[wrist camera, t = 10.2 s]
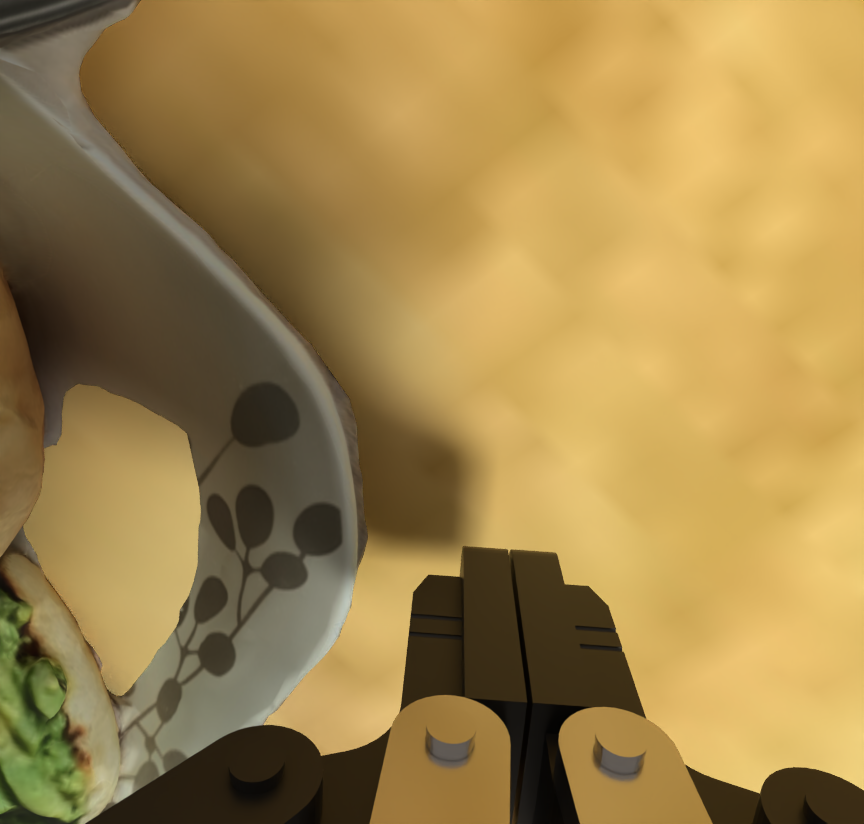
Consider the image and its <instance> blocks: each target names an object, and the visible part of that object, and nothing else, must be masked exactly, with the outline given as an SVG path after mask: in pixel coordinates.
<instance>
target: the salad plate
mask: <svg viewBox="0 0 864 824" xmlns="http://www.w3.org/2000/svg"><path fill="white" fill-rule="evenodd" d="M139 2H140V0H0V824H85V823H87V822H88V821H90V820H91V819H93V818H94V817H96V816H98V815H99V814H101V813H102V812H104V811H106V810H107V809H109V808H110V807H112V806H113V805H115V804H117V803H118V802H120V801H121V800H123V799H125V798H126V797H128V796H129V795H131V794H132V793H134V792H136V791H137V790H139V789H140V788H142V787H144V786H145V785H147V784H148V783H150V782H151V781H153V780H155V779H156V778H158V777H159V776H161V775H163V774H164V773H166V772H167V771H169V770H170V769H172V768H174V767H175V766H177V765H178V764H180V763H182V762H183V761H185V760H186V759H188V758H189V757H191V756H193V755H194V754H196V753H197V752H199V751H201V750H202V749H204V748H205V747H207V746H208V745H210V744H212V743H213V742H215V741H216V740H218V739H220V738H221V737H223V736H225V735H227V734H229V733H231V732H234V731H237V730H239V729H243V728H247V727H252V726H259V725H263V724H264V723H265V721H266V719H267V718H268V716H269V715H271V714H272V713H274V712H275V711H276V710H278V708H279V707H280V706H281V705H282V703H283V702H284V701H285V700H286V698H287V697H288V696H289V695H290V693H291V692H292V691H293V690H294V688H295V687H296V686H297V685H298V684H299V682H300V681H301V680H302V679H303V677H304V676H305V675H306V674H307V673H308V672H309V671H310V670H311V669H312V668H313V667H314V666H315V665H316V664H317V663H318V662H319V661H320V660H321V659H322V658H323V657H324V656H325V655H326V654H327V652H328V651H329V650H330V648H331V647H332V646H333V644H334V643H335V641H336V640H337V639H338V637H339V636H340V633H341V629H342V626H343V624H344V622H345V620H346V617H347V614H348V612H349V610H350V608H351V603H352V595H353V587H354V583H355V578H356V574H357V570H358V567H359V565H360V562H361V560H362V558H363V555H364V551H365V547H366V543H367V538H368V534H367V526H366V522H365V516H364V502H363V479H362V473H361V470H360V466H359V453H358V440H357V425H356V420H355V416H354V414H353V410H352V407H351V403H350V399H349V397H348V396H347V394H346V393H345V392H344V390H343V389H342V387H341V386H340V385H339V383H338V382H337V380H336V379H335V378H334V376H333V375H332V373H331V372H330V371H329V369H328V368H327V366H326V365H325V364H324V362H323V361H322V359H321V358H320V357H319V355H318V354H317V352H316V351H315V350H314V348H313V346H312V345H311V344H310V343H309V342H308V341H307V340H306V339H305V338H304V337H303V336H302V335H301V334H300V333H299V332H298V331H297V330H296V329H295V328H294V327H293V326H292V325H291V324H290V323H289V322H288V320H287V319H286V318H285V317H284V316H283V315H282V314H281V313H280V312H279V311H278V309H277V308H276V307H275V306H274V305H273V304H272V303H271V302H270V301H269V300H268V299H267V298H266V297H265V295H264V294H263V293H262V292H261V291H260V290H259V289H258V288H257V287H256V285H255V284H254V283H253V282H252V281H251V280H250V279H249V277H248V276H247V275H246V274H245V273H244V272H243V271H242V270H241V268H240V267H239V266H238V265H237V264H236V263H235V262H234V260H232V259H231V258H230V257H229V256H228V255H227V254H226V253H225V252H224V251H223V250H222V249H220V248H219V246H218V245H217V244H216V243H215V241H214V240H213V239H212V238H211V236H210V235H209V234H208V233H207V232H206V231H205V230H203V229H202V228H201V227H200V226H199V225H198V224H197V223H195V222H194V221H193V220H192V219H191V218H190V217H189V216H188V215H187V214H185V213H184V212H183V211H182V210H181V209H180V208H178V207H177V206H176V205H175V204H174V203H172V202H171V201H170V200H169V199H168V198H167V197H166V196H165V195H164V194H163V193H161V192H160V191H159V190H158V189H157V188H156V187H154V186H153V185H152V184H151V183H150V182H149V181H148V180H147V178H146V177H145V176H144V175H143V174H142V173H141V172H140V171H139V169H138V168H137V167H136V166H135V165H134V163H133V162H132V161H131V160H130V158H129V157H128V156H127V154H126V153H125V152H124V151H123V149H122V148H121V147H120V146H119V145H118V143H117V142H116V141H115V140H114V139H113V138H112V136H111V135H110V134H109V133H108V132H107V131H106V129H105V128H104V127H103V126H102V125H101V124H100V122H99V121H98V120H97V119H96V118H95V116H94V114H93V113H92V111H91V109H90V107H89V105H88V103H87V101H86V99H85V97H84V95H83V93H82V91H81V85H80V78H79V72H80V67H81V64H82V61H83V58H84V56H85V54H86V53H87V52H88V50H89V49H90V48H91V47H92V46H93V44H94V43H95V42H96V41H97V39H98V38H99V36H100V35H101V33H102V32H103V31H104V29H106V28H107V27H109V26H111V25H113V24H115V23H116V22H118V21H121V20H123V19H125V18H127V17H128V16H129V15H130V14H131V13H132V12H133V11H134V9H135V8H136V6H137V5H138V3H139ZM77 384H83V385H91V386H98V387H101V388H103V389H105V390H107V391H108V392H110V393H113V394H116V395H119V396H123V397H125V398H128V399H130V400H132V401H135V402H137V403H139V404H141V405H143V406H144V407H146V408H148V409H149V410H151V411H153V412H154V413H156V414H158V415H160V416H162V417H164V418H166V419H167V420H169V421H171V422H173V423H174V424H176V425H178V426H179V427H180V428H181V429H182V430H184V431H185V432H186V433H187V435H188V440H189V444H190V449H191V453H192V458H193V462H194V467H195V471H196V476H197V480H198V485H199V492H200V505H201V520H200V524H199V538H198V566H197V570H196V574H195V579H194V583H193V586H192V588H191V591H190V594H189V597H188V598H187V600H186V601H185V603H184V604H183V606H182V608H181V609H180V615H179V622H178V624H177V627H176V628H175V630H174V631H173V633H172V634H171V635H170V637H169V638H168V640H167V641H166V643H165V644H164V645H163V646H162V647H161V648H160V649H159V650H158V651H157V653H156V655H155V656H154V658H153V660H152V661H151V663H150V664H149V666H148V667H147V668H146V670H145V671H144V672H143V673H142V675H141V676H140V677H139V678H138V679H137V681H136V682H135V683H134V684H133V686H132V687H131V688H130V689H129V691H128V692H126V693H125V694H124V695H123V696H119V697H117V696H115V695H113V694H111V693H109V692H107V689H106V686H105V684H104V681H103V678H102V675H101V668H102V663H101V660H100V658H99V657H98V655H97V654H96V652H95V651H94V649H93V647H92V646H91V645H90V644H89V643H88V642H87V641H86V640H85V639H84V637H83V635H82V633H81V631H80V628H79V626H78V623H77V621H76V619H75V618H74V617H73V615H72V614H71V612H70V611H69V609H68V608H67V607H66V605H65V604H64V603H63V601H62V600H61V599H60V597H59V596H58V594H57V593H56V592H55V590H54V589H53V588H52V586H51V585H50V584H49V582H48V581H47V580H46V578H45V575H44V572H43V571H42V568H41V566H40V563H39V562H38V558H37V555H36V553H35V551H34V549H33V548H32V546H31V544H30V543H29V541H28V540H27V538H26V536H25V534H24V530H23V525H24V523H25V522H26V520H27V519H28V517H29V515H30V513H31V511H32V509H33V507H34V505H35V503H36V501H37V499H38V497H39V495H40V491H41V487H42V476H43V473H44V461H45V457H44V448H46V447H48V446H51V445H57V442H58V440H59V438H60V436H61V431H62V407H63V398H64V396H65V393H66V391H68V390H69V389H71V388H72V387H74V386H75V385H77Z"/></svg>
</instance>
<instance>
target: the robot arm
mask: <svg viewBox="0 0 864 824" xmlns="http://www.w3.org/2000/svg"><path fill="white" fill-rule="evenodd" d="M85 824H864V790H862V789H860V788H859V787H857V786H855V785H854V784H852V783H850V782H848V781H846V780H844V779H842V778H840V777H837V776H835V775H832V774H829V773H827V772H823V771H819V770H816V769H809V768H798V767H793V768H785V769H782V770H778V771H776V772H774V773H773V774H771V775H770V776H769V777H768V778H767V779H766V780H765V782H764V784H763V786H762V789H761V792H760V794H759V793H756V792H753V791H750V790H747V789H744V788H741V787H738V786H735V785H732V784H729V783H726V782H723V781H720V780H717V779H714V778H711V777H709V776H706V775H703V774H701V773H699V772H697V771H695V770H693V769H691V768H690V767H688V766H687V765H685V764H684V762H683V760H682V757H681V755H680V753H679V751H678V749H677V748H676V746H675V744H674V743H673V741H672V740H671V739H670V738H669V736H668V735H667V734H666V733H665V732H664V731H663V730H661V729H660V728H659V727H658V726H656V725H655V724H654V723H652V722H651V721H649V720H647V719H646V717H645V714H644V711H643V708H642V705H641V702H640V699H639V696H638V693H637V690H636V687H635V684H634V681H633V678H632V675H631V672H630V669H629V666H628V663H627V660H626V657H625V654H624V652H622V645H621V643H620V640H619V637H618V634H617V633H616V628H615V625H614V622H613V619H612V616H611V613H610V610H609V607H608V605H607V604H606V603H605V602H604V601H603V600H602V599H601V598H600V597H599V596H598V595H597V594H596V593H595V592H594V591H593V590H592V589H591V588H590V587H589V586H579V585H565V584H564V580H563V576H562V572H561V568H560V564H559V560H558V556H557V554H556V553H553V552H539V551H525V550H510V553H509V554H508V550H507V549H495V548H482V547H468V546H463V548H462V556H461V567H460V577H453V576H439V575H428V576H427V577H426V578H425V579H424V580H423V582H422V583H421V584H420V585H419V586H418V587H417V589H416V590H415V591H414V592H413V600H412V610H411V619H410V628H409V637H408V647H407V656H406V665H405V675H404V684H403V693H402V703H401V708H400V713H399V714H398V715H397V717H396V718H395V720H394V722H393V724H392V727H391V728H390V729H389V730H388V731H387V732H386V733H385V734H383V735H382V736H381V737H379V738H378V739H377V740H375V741H373V742H371V743H369V744H367V745H365V746H362V747H360V748H357V749H353V750H349V751H345V752H340V753H334V754H329V755H324V756H321V755H320V753H319V750H318V749H317V747H316V746H315V745H314V743H313V742H312V741H311V740H310V739H308V738H307V737H306V736H304V735H303V734H301V733H300V732H297V731H295V730H293V729H290V728H286V727H282V726H274V725H259V726H252V727H247V728H243V729H239V730H237V731H234V732H231V733H229V734H227V735H225V736H223V737H221V738H220V739H218V740H216V741H215V742H213V743H212V744H210V745H208V746H207V747H205V748H204V749H202V750H201V751H199V752H197V753H196V754H194V755H193V756H191V757H189V758H188V759H186V760H185V761H183V762H182V763H180V764H178V765H177V766H175V767H174V768H172V769H170V770H169V771H167V772H166V773H164V774H163V775H161V776H159V777H158V778H156V779H155V780H153V781H151V782H150V783H148V784H147V785H145V786H144V787H142V788H140V789H139V790H137V791H136V792H134V793H132V794H131V795H129V796H128V797H126V798H125V799H123V800H121V801H120V802H118V803H117V804H115V805H113V806H112V807H110V808H109V809H107V810H106V811H104V812H102V813H101V814H99V815H98V816H96V817H94V818H93V819H91V820H90V821H88V822H87V823H85Z"/></svg>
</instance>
